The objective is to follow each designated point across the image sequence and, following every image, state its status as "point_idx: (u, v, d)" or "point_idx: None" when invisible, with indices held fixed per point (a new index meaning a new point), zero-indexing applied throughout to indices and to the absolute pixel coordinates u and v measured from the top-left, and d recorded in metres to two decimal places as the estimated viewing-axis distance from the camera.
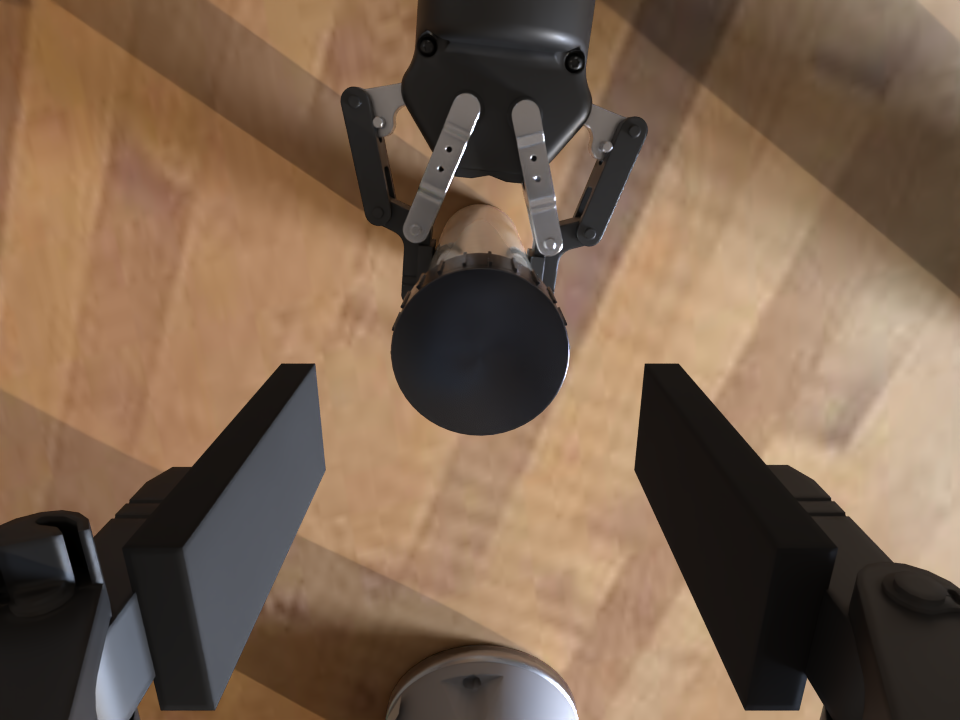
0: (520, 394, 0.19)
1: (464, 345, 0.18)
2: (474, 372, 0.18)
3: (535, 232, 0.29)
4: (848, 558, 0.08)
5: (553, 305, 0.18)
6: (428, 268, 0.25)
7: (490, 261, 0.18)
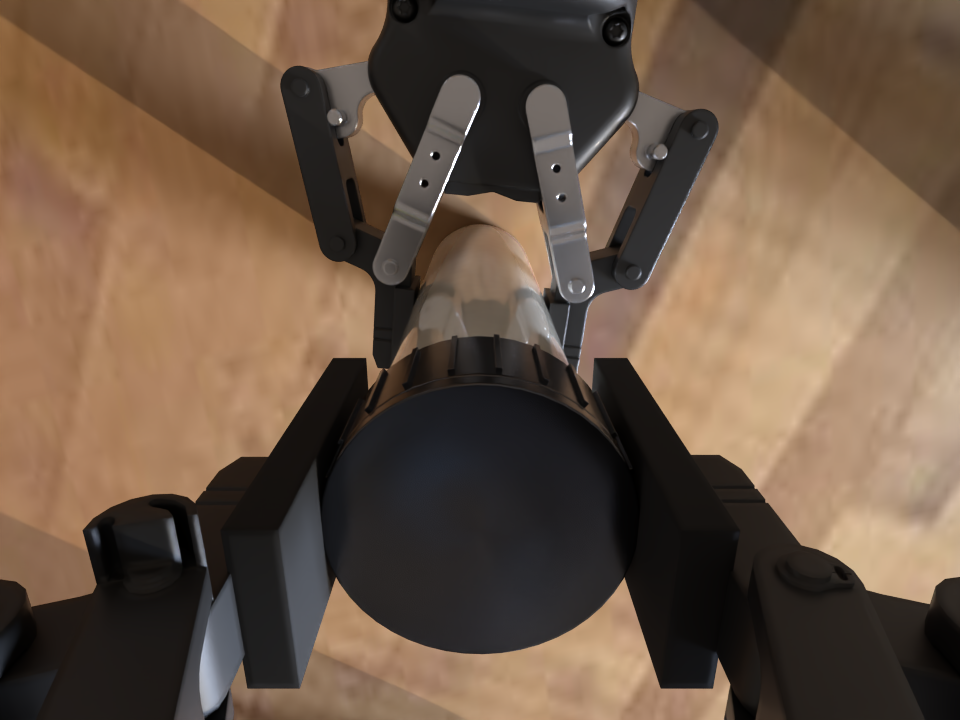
0: (551, 592, 0.11)
1: (451, 514, 0.10)
2: (470, 557, 0.10)
3: (557, 270, 0.20)
4: (757, 541, 0.09)
5: (614, 448, 0.10)
6: (403, 332, 0.17)
7: (499, 366, 0.10)
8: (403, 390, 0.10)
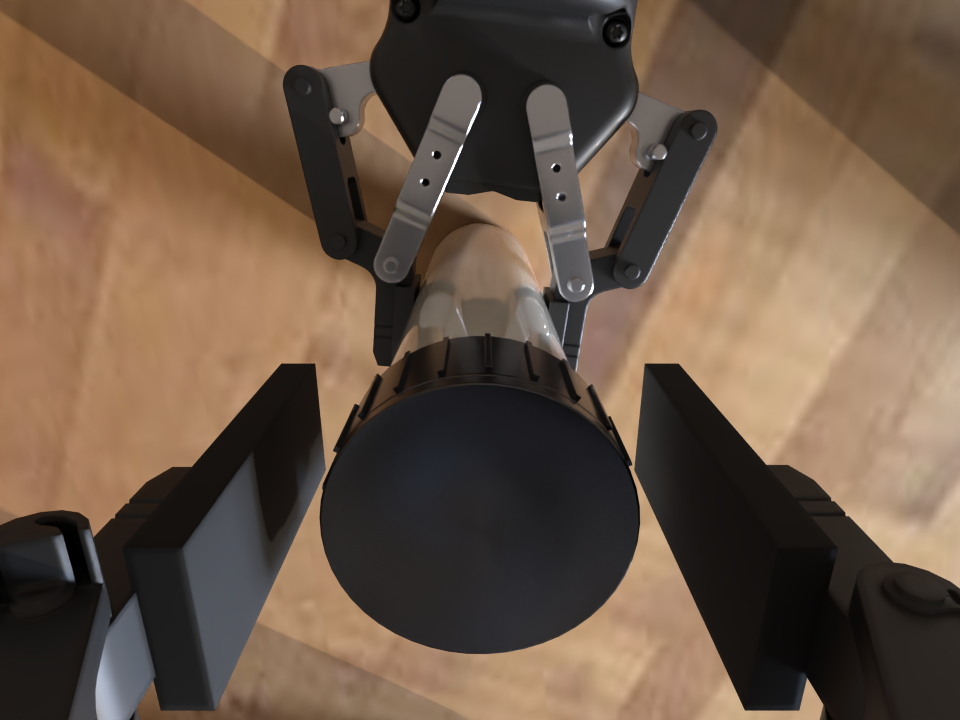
0: (578, 495, 0.10)
1: (451, 546, 0.10)
2: (505, 548, 0.10)
3: (556, 269, 0.21)
4: (846, 558, 0.08)
5: (435, 389, 0.09)
6: (404, 329, 0.17)
7: (335, 446, 0.10)
8: None
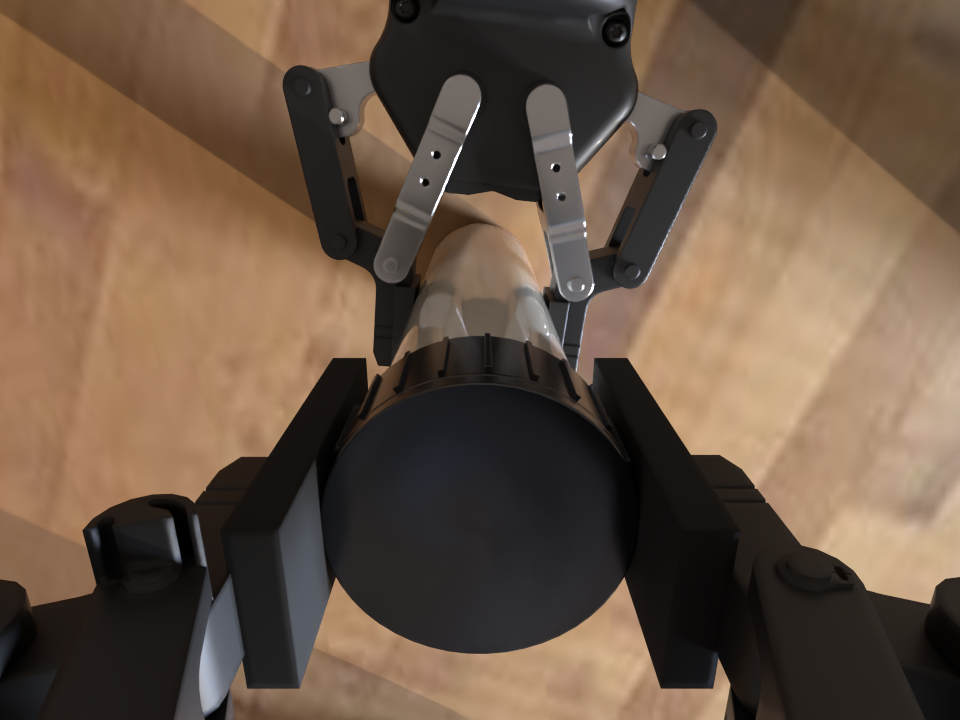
0: (579, 494, 0.10)
1: (452, 546, 0.10)
2: (505, 548, 0.10)
3: (556, 269, 0.21)
4: (757, 541, 0.09)
5: (435, 389, 0.09)
6: (404, 329, 0.17)
7: (335, 446, 0.10)
8: None
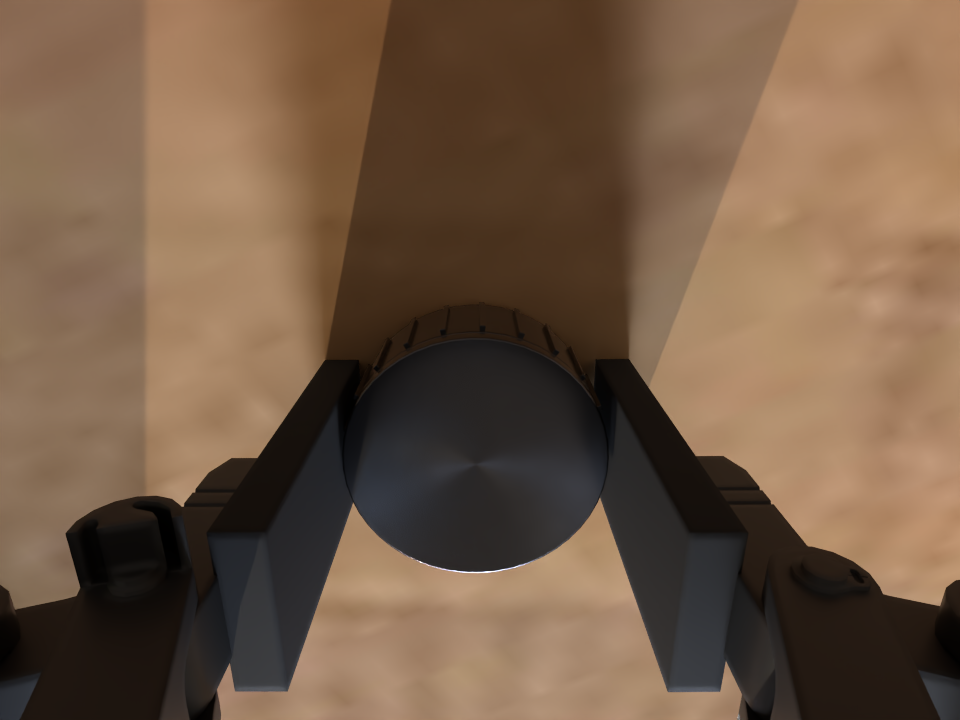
0: (557, 433, 0.12)
1: (452, 478, 0.12)
2: (497, 479, 0.12)
3: None
4: (765, 543, 0.09)
5: (438, 344, 0.11)
6: None
7: (354, 395, 0.12)
8: None
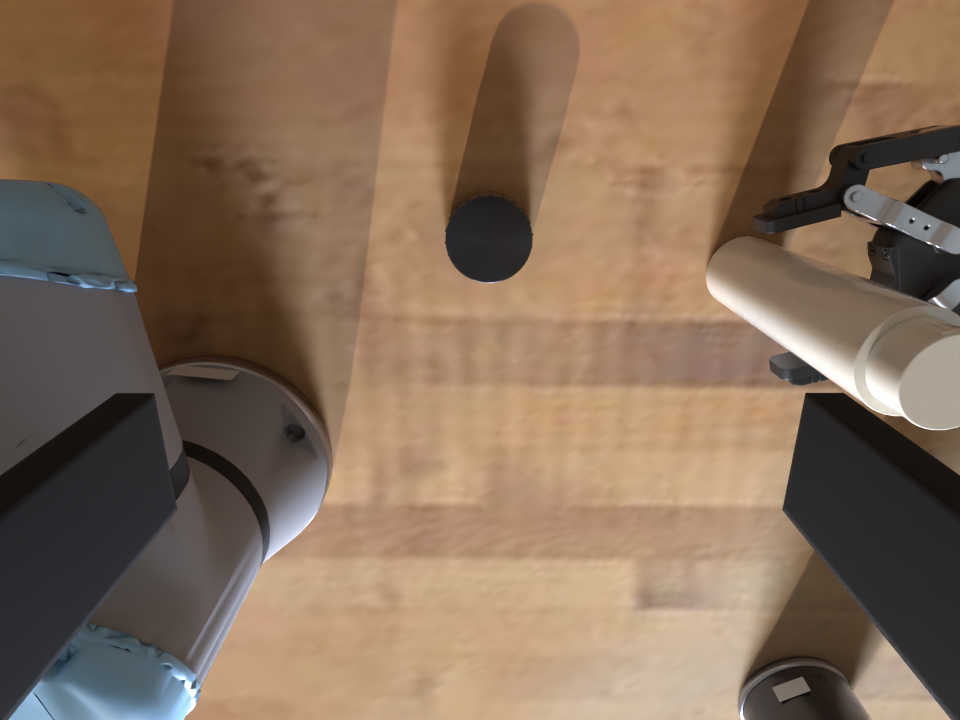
0: (515, 228, 0.37)
1: (481, 245, 0.37)
2: (496, 246, 0.37)
3: None
4: None
5: (477, 197, 0.36)
6: (859, 277, 0.28)
7: (449, 218, 0.37)
8: (446, 244, 0.38)
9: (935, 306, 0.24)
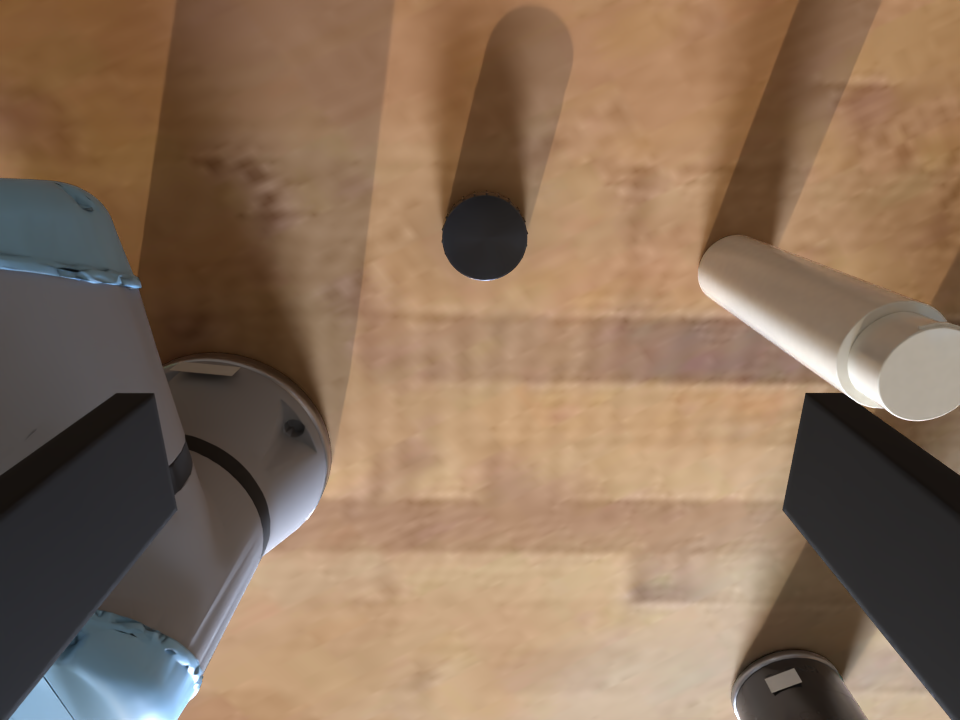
0: (510, 227, 0.38)
1: (477, 244, 0.38)
2: (491, 244, 0.38)
3: None
4: None
5: (473, 197, 0.37)
6: (843, 274, 0.29)
7: (446, 217, 0.38)
8: (443, 242, 0.39)
9: (914, 301, 0.24)
